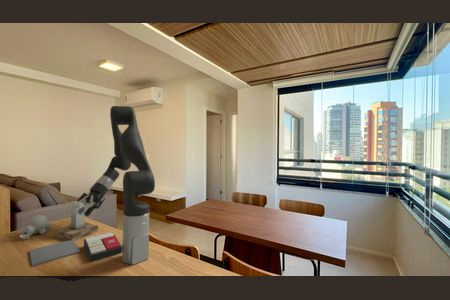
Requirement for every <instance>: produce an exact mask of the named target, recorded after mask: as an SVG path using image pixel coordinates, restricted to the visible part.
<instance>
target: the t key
mask: <svg viewBox="0 0 450 300" xmlns="http://www.w3.org/2000/svg"><path fill="white" fill-rule="evenodd" d="M84 204H85V203H83V202H80V201H79V202H78V201H77V200H75V201H74V200H73V201H71V203H70V206H71V208H70V209H71V210H70V225H71V229H73V230H77V229H80V228H83V227H84V222H85V215H84V213H85V205H84Z"/></svg>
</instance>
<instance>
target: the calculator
mask: <svg viewBox="0 0 450 300" xmlns="http://www.w3.org/2000/svg"><path fill="white" fill-rule="evenodd" d="M83 249H84V251H85V253H86V256H87V259H88V262H89V263H92V262H97V261H100V260H102V259H106V258H111V257H114V256H117V255H120V254H122V244H121V242H120V241H119V240H118V238H117V236H116V235H115V234H114V232H108V233H103V234H98V235H94V236H90V237H86V238H84V240H83Z"/></svg>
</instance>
